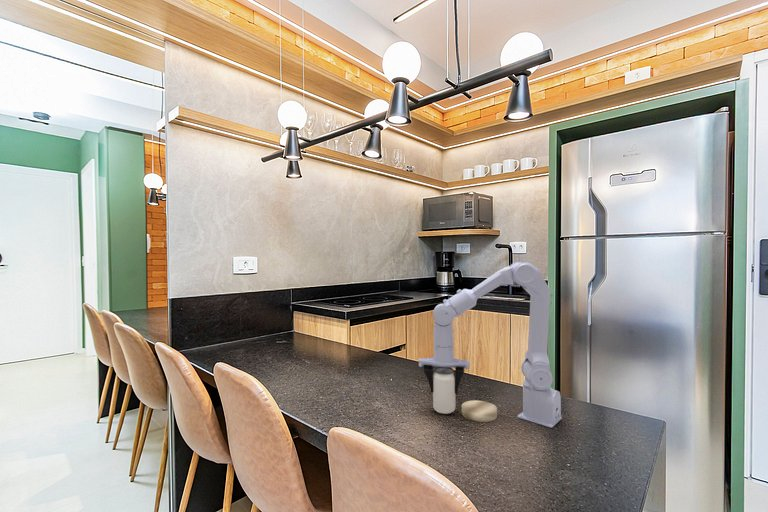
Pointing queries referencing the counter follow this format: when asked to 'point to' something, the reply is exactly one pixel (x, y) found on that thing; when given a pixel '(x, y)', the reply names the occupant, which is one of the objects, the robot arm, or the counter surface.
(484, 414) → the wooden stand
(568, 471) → the counter surface
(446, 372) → the can
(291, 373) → the counter surface
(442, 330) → the robot arm
